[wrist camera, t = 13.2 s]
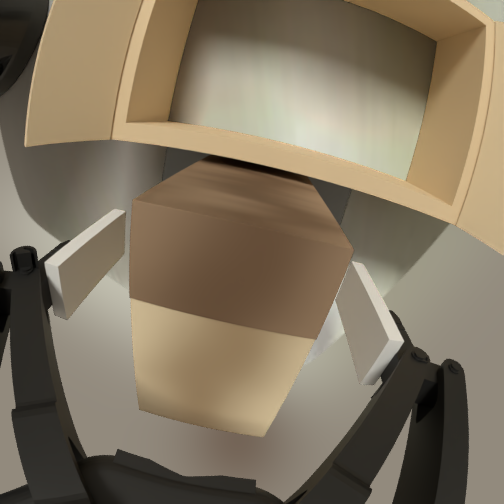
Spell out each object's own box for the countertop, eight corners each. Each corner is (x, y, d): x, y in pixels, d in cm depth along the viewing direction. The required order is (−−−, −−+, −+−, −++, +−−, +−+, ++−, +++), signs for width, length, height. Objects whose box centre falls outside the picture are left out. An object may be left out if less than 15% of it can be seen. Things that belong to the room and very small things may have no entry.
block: (198, 270, 24) (138, 409, 11) (219, 149, 20) (132, 200, 7) (268, 286, 24) (263, 437, 12) (301, 168, 20) (354, 250, 7)
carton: (123, 128, 20) (20, 146, 10) (166, -32, 14) (104, -100, 3) (435, 205, 21) (522, 267, 11) (470, 53, 15) (562, 41, 4)
